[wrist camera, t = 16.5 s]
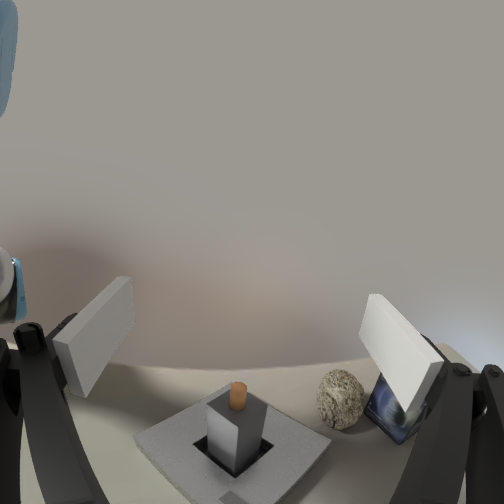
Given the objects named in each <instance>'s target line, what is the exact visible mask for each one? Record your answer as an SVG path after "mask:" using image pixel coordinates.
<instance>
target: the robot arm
mask: <svg viewBox="0 0 504 504" xmlns="http://www.w3.org/2000/svg"><path fill="white" fill-rule="evenodd" d="M17 31H18V15H17V8H16V5H15V3H14V2H13V1H12V0H0V117H1V116H2V115H3V113H4V111H5V108H6V105H7V102H8V98H9V93H10V88H11V80H12V72H13V69H14V61H15V53H16V43H17ZM26 316H27V308H26V301H25V292H24V283H23V275H22V266H21V262H20V259H18V258H10V256H9V255H8V253H7V252H6V251H5V250H4V249H2V248H1V247H0V325H2V324H7V323H15V322H16V321H20V320H23V319H25V317H26ZM134 323H135V315H134V305H133V295H132V282H131V277H124V276H118V277H117V278H116V279H115V280H114V281H113V282H112V283H110V284H109V285H108V286H107V287H106V288H105V289H104V290H103V291H102V292H101V293H100V294H99V295H97V296H96V297H95V298H94V299H93V300H92V301H91V302H90V303H89V304H88V305H87V306H86V307H85V308H84V309H83V310H82V311H81V312H79V313H74V314H72V315H70V316H68V317H66V318H65V319H64V320H63V321H62V322H61V324H59V325H58V326H57V327H56V328H55V329H54V330H53V331H52V332H51V333H50V334H49V335H48V336H47V337H46V338H45V337H44V333H43V330H42V327H41V325H39V324H38V323H33V322H32V323H31V322H30V323H24V324H21V325H20V326H18V327H17V328H16V329H15V330H14V332H13V335H14V338H15V341H16V344H17V347H18V349H19V350H14V349H9V347H8V345H7V342H6V340H4V339H3V338H0V504H21V500H20V449H21V435H22V426H23V417H24V420H25V427H26V432H27V438H28V443H29V448H30V452H31V457H32V461H33V465H34V469H35V472H36V476H37V479H38V482H39V486H40V489H41V492H42V495H43V498H44V501H45V503H46V504H110V503H109V502H108V500H107V498H106V496H105V494H104V492H103V490H102V488H101V486H100V484H99V482H98V480H97V478H96V476H95V474H94V472H93V470H92V468H91V465H90V463H89V461H88V459H87V456H86V454H85V451H84V449H83V446H82V444H81V441H80V439H79V436H78V433H77V430H76V428H75V425H74V422H73V419H72V416H71V413H70V409H69V406H68V403H67V399H66V396H65V393H64V391H63V389H64V387H65V386H66V384H67V385H68V387H69V390H70V392H71V394H73V395H76V396H79V397H82V398H87V396H88V394H89V393H90V391H91V389H92V388H93V386H94V384H95V383H96V381H97V380H98V378H99V376H100V375H101V373H102V372H103V370H104V368H105V367H106V365H107V364H108V362H109V361H110V359H111V357H112V356H113V354H114V353H115V351H116V350H117V348H118V347H119V345H120V343H121V342H122V341H123V339H124V337H125V336H126V334H127V333H128V331H129V330H130V329H131V327H132V326H133V324H134ZM359 337H360V339H361V340H362V342H363V344H364V345H365V347H366V348H367V350H368V352H369V353H370V355H371V356H372V358H373V360H374V361H375V363H376V364H377V366H378V368H379V369H380V371H381V373H382V374H383V376H384V378H385V379H386V381H387V383H388V384H389V386H390V388H391V389H392V391H393V393H394V394H395V396H396V398H397V400H398V401H399V403H400V405H401V406H402V408H403V410H404V412H405V413H406V412H411V411H415V410H419V408H420V406H421V405H422V403H423V401H424V400H425V401H426V403H427V404H428V406H427V407H426V409H425V411H424V412H423V414H422V416H421V417H420V419H419V420H418V422H417V423H420V421H421V420H422V421H421V424H420V428H419V431H418V434H417V437H416V440H415V443H414V446H413V449H412V451H411V454H410V457H409V459H408V462H407V465H406V467H405V470H404V472H403V474H402V477H401V479H400V481H399V484H398V486H397V488H396V490H395V492H394V495H393V497H392V499H391V501H390V503H389V504H457V502H458V499H459V495H460V491H461V486H462V482H463V477H464V472H465V473H466V504H504V372H503V371H502V370H501V369H500V368H499V367H498V366H496V365H492V364H488V365H485V367H484V368H483V370H482V372H481V374H478V373H472V371H471V370H470V368H468V367H467V366H466V365H463V364H461V363H451V362H450V361H449V360H448V359H447V358H446V357H445V356H444V355H443V354H442V352H441V351H440V350H438V348H437V347H436V346H435V345H434V344H433V343H432V342H431V341H430V340H429V339H428V338H427V337H425V336H424V335H422V334H419V332H418V331H417V330H416V329H415V328H414V327H413V326H412V325H411V324H410V323H409V322H408V321H407V320H406V319H405V318H404V317H403V316H402V315H401V314H400V313H399V312H398V311H397V310H396V309H395V308H394V307H393V306H392V305H391V304H390V303H389V302H388V301H387V300H386V299H385V298H384V297H383V296H382V295H381V294H370V295H369V299H368V303H367V307H366V311H365V314H364V318H363V322H362V326H361V329H360V332H359ZM486 407H487V411H486V414H485V413H484V410H485V409H486Z"/></svg>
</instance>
